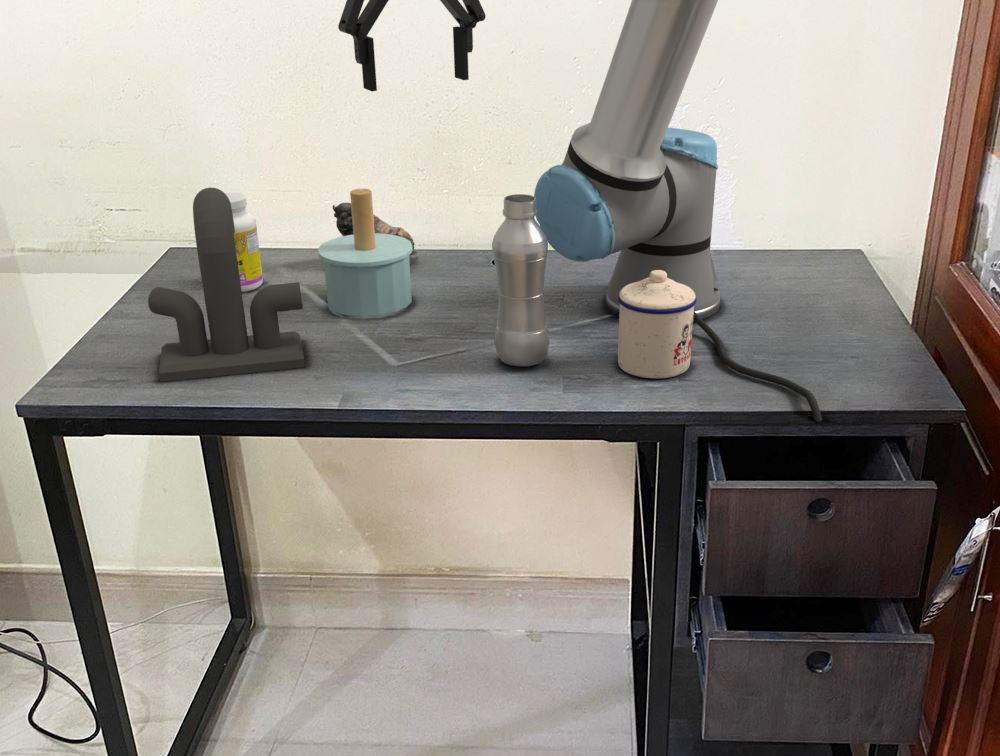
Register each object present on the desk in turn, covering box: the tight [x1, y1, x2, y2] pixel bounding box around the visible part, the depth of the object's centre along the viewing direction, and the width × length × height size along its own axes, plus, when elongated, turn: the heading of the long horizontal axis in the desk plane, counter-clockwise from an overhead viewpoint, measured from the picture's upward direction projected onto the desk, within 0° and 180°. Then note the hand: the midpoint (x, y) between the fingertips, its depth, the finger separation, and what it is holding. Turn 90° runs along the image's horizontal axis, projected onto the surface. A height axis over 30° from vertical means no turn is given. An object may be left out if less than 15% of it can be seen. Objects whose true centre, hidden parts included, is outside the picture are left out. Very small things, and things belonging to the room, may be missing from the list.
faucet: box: [147, 187, 306, 383], centre depth 140 cm, size 18×16×20 cm
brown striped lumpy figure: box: [332, 202, 419, 265], centre depth 168 cm, size 12×7×10 cm, turn 96°
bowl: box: [323, 256, 413, 319], centre depth 156 cm, size 11×11×8 cm
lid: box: [317, 188, 412, 267], centre depth 152 cm, size 13×13×9 cm
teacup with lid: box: [617, 270, 697, 380], centre depth 136 cm, size 12×9×12 cm
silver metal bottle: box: [491, 193, 550, 367], centre depth 135 cm, size 6×7×20 cm
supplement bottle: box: [224, 192, 264, 293], centre depth 162 cm, size 7×7×13 cm
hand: (416, 84), depth 155 cm, fingers open, 13 cm apart
